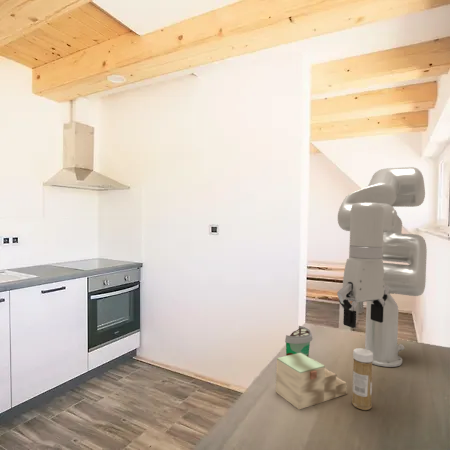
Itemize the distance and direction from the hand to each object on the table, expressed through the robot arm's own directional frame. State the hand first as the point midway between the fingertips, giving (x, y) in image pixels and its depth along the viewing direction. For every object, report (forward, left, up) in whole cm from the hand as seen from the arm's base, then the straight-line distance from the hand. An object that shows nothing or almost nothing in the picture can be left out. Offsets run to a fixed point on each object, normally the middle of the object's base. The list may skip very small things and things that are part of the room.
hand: (363, 323), depth 82 cm
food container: (-3, -25, -20) cm, 32 cm away
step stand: (+7, -10, -20) cm, 23 cm away
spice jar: (0, 0, -20) cm, 20 cm away
